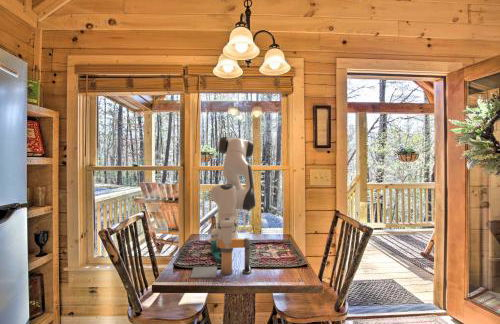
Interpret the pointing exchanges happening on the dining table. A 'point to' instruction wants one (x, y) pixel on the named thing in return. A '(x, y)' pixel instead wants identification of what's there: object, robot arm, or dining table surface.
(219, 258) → the bracket
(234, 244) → the orange wooden bar
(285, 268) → the dining table surface
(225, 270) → the cylinder
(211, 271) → the pad
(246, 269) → the post
